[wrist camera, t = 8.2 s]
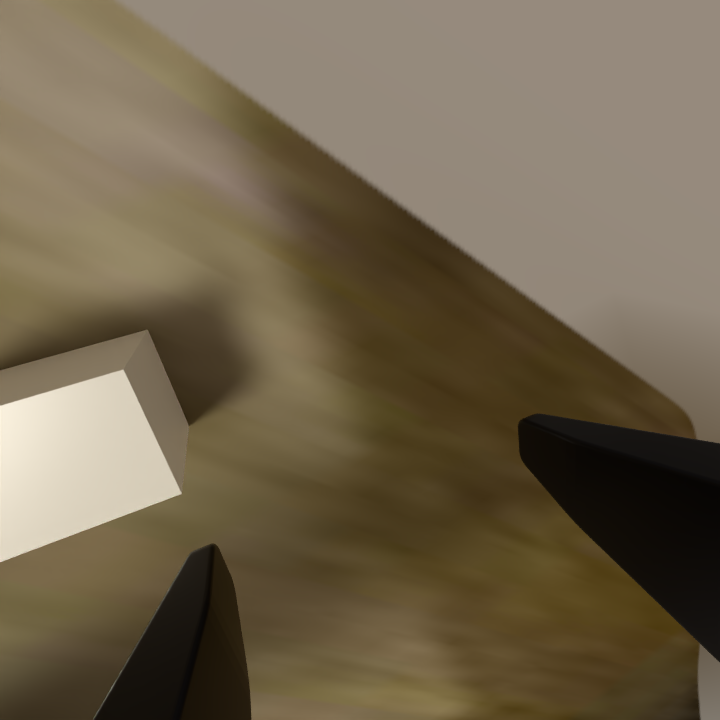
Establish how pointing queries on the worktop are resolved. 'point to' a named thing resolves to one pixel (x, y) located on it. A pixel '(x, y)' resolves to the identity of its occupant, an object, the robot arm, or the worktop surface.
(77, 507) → the white block
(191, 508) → the worktop surface
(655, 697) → the worktop surface
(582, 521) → the robot arm
